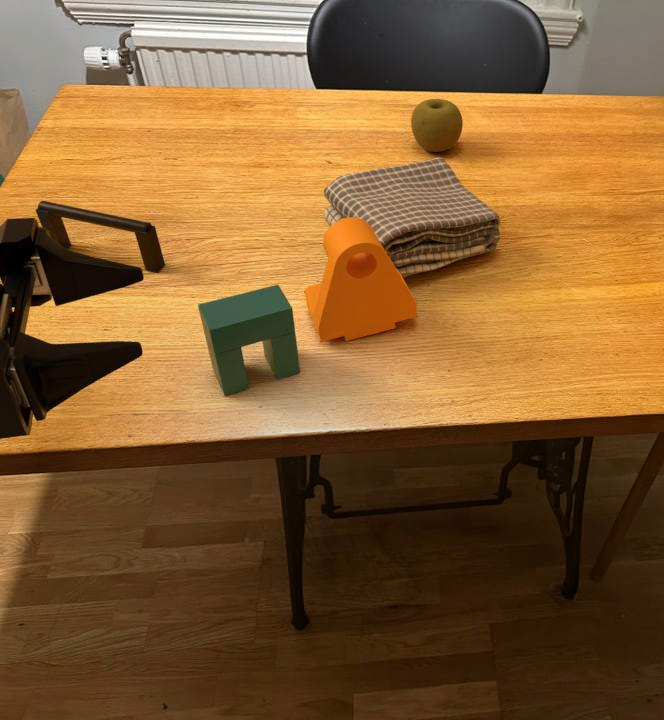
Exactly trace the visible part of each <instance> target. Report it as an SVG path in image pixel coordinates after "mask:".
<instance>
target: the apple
mask: <svg viewBox="0 0 664 720" xmlns="http://www.w3.org/2000/svg"><path fill="white" fill-rule="evenodd" d="M463 122H464V121H463V116H462V113H461V110H460V109H459V107H458V106H457V105H456V104H455V103H453V102H452V101H450V100H448V99H442V98H429V99H425V100H423V101H421V102H419V103H418V104H417V105H416V106H415V108H414V109H413V111H412V113H411V118H410V126H411V132H412V135H413V137H414V139H415V141H416V142H417V144H418V145H419V147H421V148H422V149H423V150H425V151H427V152H430V153H438V152H439V153H441V152H445V151H448V150H450V149H451V148H453V147H454V146H455V145H457V143H458V142H459V139H460V138H461V135H462V131H463V126H464V125H463V124H464V123H463Z"/></svg>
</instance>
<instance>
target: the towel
mask: <svg viewBox="0 0 664 720" xmlns="http://www.w3.org/2000/svg"><path fill="white" fill-rule="evenodd" d="M323 197H325V198H326V200H327V201H328V203H329V204H330V205H329V206H327V207H326V208H325V210H324V213H323V218H324V221H325V222H326V223H327V225H328V226H329V227H330V226H331V225H333V224H334V223H335V222H337V221H339V220H341V219H344V218H350V217H355V218H360V219H363V220H365V221H366V222H368V223H369V224H370V225H371V227H372V229H373V230H374V232H375V234H376V236H377V238H378V240H379V242H380V243H381V245H382V246H383V248H384V250H385V251H386V253H387V255H388V256H389V258H390V260H391V261H392V263H393V264H394V266H395V268H397V269H398V270H399V272H400V274H401V276H402V278H403V279H404V278H406V277H410V276H413V275H417V274H420V273H426V272H429V271H430V272H431V271H435V270H438V269H441V268H443V267H446V266H448V265H451V264H452V263H454V262H457V261H461V260H464V259H467V258H469V257H470V258H471V257H474V256H475V257H476V256H478V255H479V256H480V255H483V254H487V253H492V252H493V251H495V250H496V248H497V245H498V243H499V242H500V239H501V232H500V224H501V218H500V216H499V214H497V213H496V212H495V211H494V210H493V209H492V208H491V207H490V206H488V204H486V203H485V202H484V201H482V200H481V199H479V198H478V196H475V194H474V193H473V192H471V191H469V190H468V189H467V188H466V187H465V186H464V184H462V182H461V181H460V179H459V178H458V177H457V175H456V173H455V171H453V169H452V167H451V166H450V165H449V164H448V163H447V161H446V160H445V158H443V157H433V158H430V159H427V160H423V161H416V162H412V163H408V164H400V165H393V166H384V167H379V168H375V169H370V170H365V171H357V172H352V173H347V174H344V175H339V176H338V177H336V178H335V179H334V180H333V181H332V182H330V184H329V185H327V186H326V187H325V188H324V190H323Z"/></svg>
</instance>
